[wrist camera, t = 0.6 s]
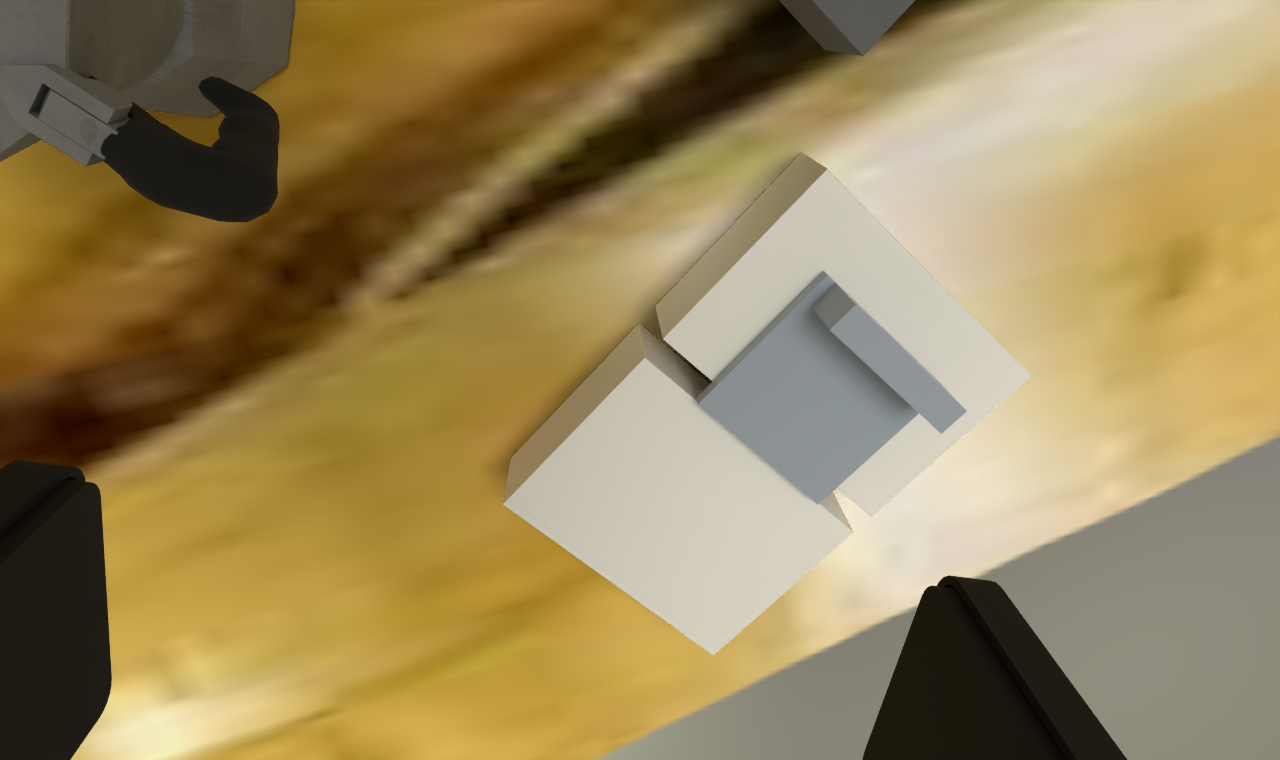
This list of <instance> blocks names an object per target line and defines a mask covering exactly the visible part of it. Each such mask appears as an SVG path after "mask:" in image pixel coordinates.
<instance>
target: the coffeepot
mask: <svg viewBox="0 0 1280 760" xmlns="http://www.w3.org/2000/svg"><path fill="white" fill-rule="evenodd" d="M294 15H295V7H294V0H0V162H1V161H3V160H4V159H6V158H8V157H10V156H12V155H14V154H16V153H17V152H19V151H21V150H23V149H25V148H27V147H28V146H30V145H32V144H34V143H36V142H38V141H40V140H41V139H42V140H44V141H45V142H47V143H48V144H50V145H52V146H53V147H55V148H57V149H58V150H60V151H61V152H63V153H65V154H66V155H68V156H70V157H71V158H73V159H74V160H76V161H78V162H79V163H81V164H82V165H84V166H89V165H92V164H95V163H99V162H101V161H104V162H105V163H107V164H108V165H109V166H110V167H111V168H113V169H114V170H115V171H116V172H117V173H119V174H120V175H121V177H122V178H123V179H124V180H125V181H126V182H127V184H128V185H129V186H130V187H132V188H133V189H134V190H136V191H137V192H139V193H140V194H141V195H143V196H144V197H146V198H147V199H149V200H151V201H153V202H155V203H157V204H159V205H161V206H164V207H167V208H171V209H175V210H179V211H183V212H186V213H190V214H194V215H198V216H201V217H205V218H209V219H213V220H217V221H224V222H249V221H251V220H253V219H255V218H257V217H259V216H261V215H263V214H265V213H267V212H269V210H270V208H271V207H272V205H273V203H274V202H275V200H276V197H277V194H278V188H277V167H278V143H279V120H278V116H277V113H276V112H275V111H274V109H273V108H272V107H271V106H270V105H269V104H268V103H267V102H266V101H264V100H262V99H261V98H259V97H258V96H256V95H255V94H252V93H250V92H251V91H252V90H254V89H255V88H256V87H257V86H258V85H260V84H261V83H263V82H264V81H266V80H267V79H269V78H270V77H272V76H273V75H274V74H276V73H277V72H279V71H280V70H282V69H283V68H285V67H286V66H287V62H288V52H289V42H290V36H291V30H292V25H293V20H294ZM143 109H146V110H154V111H162V112H169V113H177V114H185V115H193V116H200V117H208V118H212V117H213V116H215V115H216V114H217V113H219V112H220V111H221V112H222V113H223V114H224V115H225V116H226V117H225V118H224V120H223V121H222V123H221V125H220V127H219V137H220V139H219V140H217V141H216V142H215V143H214V144H213V146H212V147H208V146H205V145H202V144H198V143H196V142H194V141H192V140H189V139H187V138H185V137H183V136H182V135H180V134H179V133H177V132H176V131H174V130H173V129H171V128H169V127H168V126H166V125H164V124H161V123H160V122H159V121H157V120H156V119H155V118H154V117H152V116H151V115H150V114H148V113H147V112H146V111H144V110H143Z"/></svg>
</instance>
